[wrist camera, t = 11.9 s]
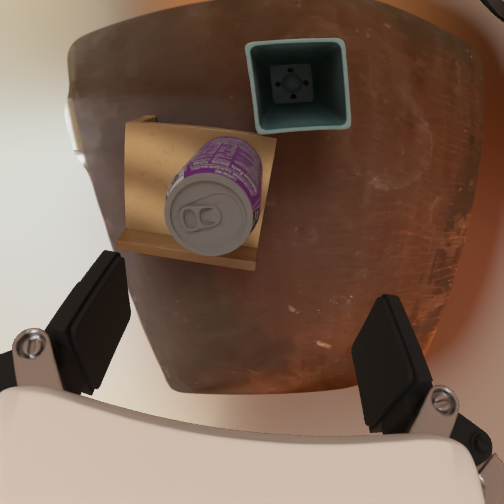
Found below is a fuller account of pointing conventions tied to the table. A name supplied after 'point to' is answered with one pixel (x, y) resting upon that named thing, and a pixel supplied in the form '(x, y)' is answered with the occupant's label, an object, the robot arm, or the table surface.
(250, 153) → the beverage can
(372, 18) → the table surface
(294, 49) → the flower pot
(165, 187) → the wooden block with backrest
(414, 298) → the table surface
